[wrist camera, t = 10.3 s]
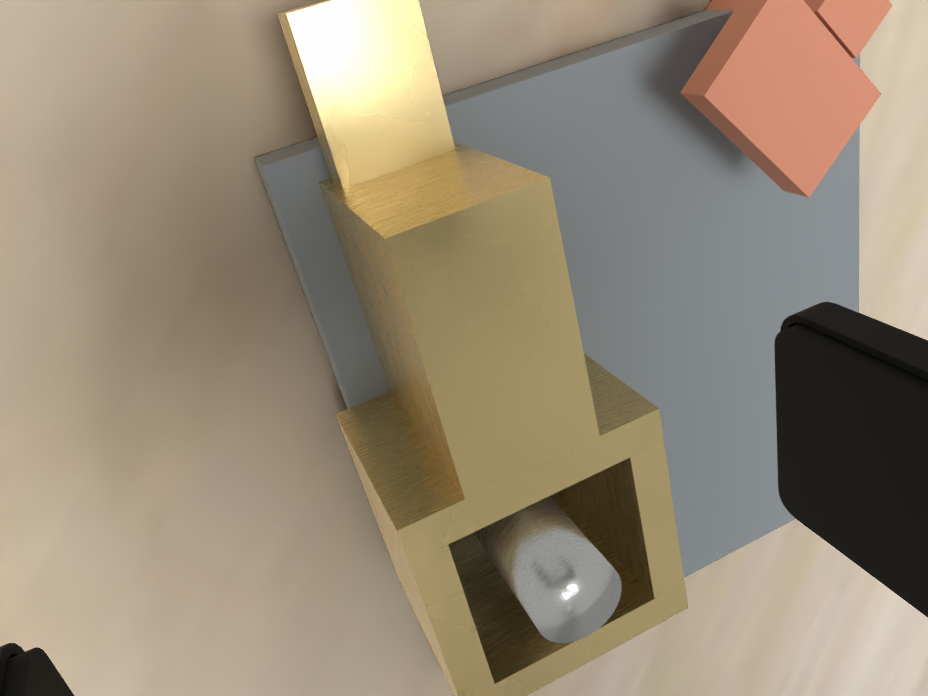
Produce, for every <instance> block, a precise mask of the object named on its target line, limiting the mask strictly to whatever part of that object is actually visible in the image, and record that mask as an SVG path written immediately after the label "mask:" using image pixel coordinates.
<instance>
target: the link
mask: <svg viewBox="0 0 928 696" xmlns="http://www.w3.org/2000/svg"><path fill="white" fill-rule="evenodd" d="M277 15H278V18H279V21H280V24H281V27H282V30H283V33H284V36H285V39H286V42H287V45H288V48H289V51H290V54H291V57H292V61H293V64H294V67H295V70H296V73H297V76H298V79H299V82H300V85H301V88H302V91H303V94H304V97H305V100H306V103H307V106H308V109H309V112H310V115H311V118H312V121H313V124H314V127H315V130H316V133H317V136H318V139H319V142H320V145H321V148H322V151H323V154H324V157H325V161H326V164H327V167H328V170H329V173H330V176H331V178H328V179H325V180H322V181H319V185H320V188H321V191H322V194H323V197H324V200H325V203H326V206H327V209H328V212H329V215H330V218H331V221H332V224H333V226H334V229H335V232H336V235H337V238H338V241H339V244H340V247H341V250H342V253H343V256H344V259H345V262H346V265H347V268H348V271H349V274H350V277H351V280H352V283H353V285H354V288H355V291H356V294H357V297H358V300H359V303H360V306H361V309H362V312H363V315H364V318H365V321H366V324H367V327H368V330H369V333H370V336H371V339H372V342H373V344H374V347H375V350H376V353H377V356H378V359H379V362H380V365H381V368H382V371H383V374H384V377H385V380H386V383H387V386H388V389H389V392H387V393H385V394H382V395H380V396H377V397H375V398H373V399H370V400H368V401H366V402H363V403H361V404H358V405H356V406H354V407H351V408H349V409H347V410H344V411H342V412H339V413H337V414H336V417H337V419H338V422H339V424H340V427H341V430H342V432H343V435H344V437H345V440H346V443H347V445H348V448H349V450H350V453H351V456H352V458H353V461H354V463H355V466H356V469H357V471H358V474H359V476H360V479H361V482H362V484H363V487H364V489H365V492H366V495H367V497H368V500H369V502H370V505H371V508H372V510H373V513H374V515H375V518H376V521H377V523H378V526H379V528H380V531H381V534H382V536H383V539H384V541H385V544H386V547H387V549H388V552H389V554H390V557H391V560H392V562H393V565H394V567H395V570H396V573H397V575H398V578H399V580H400V583H401V586H402V588H403V590H404V592H405V594H406V596H407V598H408V600H409V602H410V604H411V606H412V608H413V610H414V613H415V615H416V617H417V619H418V621H419V623H420V625H421V627H422V629H423V631H424V633H425V635H426V637H427V640H428V642H429V644H430V646H431V648H432V650H433V652H434V654H435V656H436V658H437V660H438V662H439V664H440V666H441V669H442V671H443V673H444V675H445V677H446V679H447V681H448V683H449V685H450V687H451V689H452V691H453V693H454V695H455V696H526V695H528V694H530V693H532V692H534V691H536V690H538V689H539V688H541V687H543V686H545V685H547V684H549V683H550V682H552V681H554V680H556V679H558V678H560V677H561V676H563V675H565V674H567V673H569V672H571V671H573V670H574V669H576V668H578V667H580V666H582V665H584V664H585V663H587V662H589V661H591V660H593V659H595V658H596V657H598V656H600V655H602V654H604V653H606V652H608V651H609V650H611V649H613V648H615V647H617V646H619V645H620V644H622V643H624V642H626V641H628V640H630V639H631V638H633V637H635V636H637V635H639V634H641V633H643V632H644V631H646V630H648V629H650V628H652V627H654V626H655V625H657V624H659V623H661V622H663V621H665V620H666V619H668V618H670V617H672V616H674V615H676V614H678V613H679V612H681V611H683V610H685V609H687V608H688V604H687V597H686V590H685V583H684V576H683V569H682V562H681V555H680V548H679V541H678V534H677V528H676V521H675V514H674V507H673V500H672V493H671V486H670V479H669V472H668V465H667V458H666V452H665V445H664V438H663V431H662V424H661V417H660V410H659V408H658V407H656V406H655V405H654V404H652V403H651V402H650V401H648V400H647V399H646V398H644V397H643V396H641V395H640V394H639V393H637V392H636V391H635V390H633V389H632V388H631V387H629V386H628V385H626V384H625V383H624V382H622V381H621V380H620V379H618V378H617V377H616V376H614V375H613V374H611V373H610V372H609V371H607V370H606V369H605V368H603V367H602V366H601V365H599V364H598V363H597V362H595V361H594V360H592V359H591V358H590V357H588V356H587V355H586V354H584V352H583V347H582V341H581V336H580V331H579V326H578V321H577V316H576V310H575V305H574V300H573V295H572V290H571V284H570V279H569V274H568V269H567V264H566V258H565V253H564V248H563V243H562V238H561V232H560V227H559V222H558V217H557V212H556V206H555V201H554V196H553V191H552V186H551V180H550V177H547V176H545V175H542V174H539V173H537V172H534V171H531V170H529V169H526V168H523V167H521V166H518V165H516V164H513V163H510V162H508V161H505V160H502V159H500V158H497V157H494V156H492V155H489V154H486V153H484V152H481V151H478V150H476V149H473V148H470V147H468V146H465V145H462V144H460V143H457V142H454V141H453V138H452V134H451V130H450V126H449V122H448V118H447V113H446V109H445V105H444V101H443V97H442V93H441V89H440V85H439V81H438V77H437V73H436V69H435V65H434V61H433V57H432V53H431V49H430V45H429V41H428V37H427V33H426V29H425V25H424V21H423V17H422V12H421V8H420V4H419V0H324V1H321V2H317V3H314V4H310V5H307V6H303V7H300V8H296V9H293V10H289V11H286V12H283V13H279V14H277ZM548 496H551V497H552V499H553V500H554V501H555V502H556V503H557V504H558V505H559V507H560V508H561V509H562V510H563V511H564V512H565V513H566V514H567V516H568V517H569V518H570V519H571V520H572V521H573V522H574V523H575V525H576V526H577V527H578V528H579V529H580V530H581V531H582V533H583V534H584V535H585V536H586V537H587V538H588V539H589V540H590V542H591V543H592V544H593V545H594V546H595V547H596V548H597V549H598V551H599V552H600V553H601V554H602V555H603V556H604V557H605V559H606V560H607V561H608V562H609V563H610V564H611V565H612V566H613V568H614V569H615V570H616V571H617V572H618V574H619V576H620V579H621V584H622V591H621V596H620V600H619V602H618V605H617V607H616V609H615V611H614V612H613V614H612V615H611V617H610V618H609V619H608V620H607V621H606V622H605V623H604V624H603V625H602V626H601V627H600V628H599V629H598V630H596V631H595V632H594V633H592V634H590V635H589V636H587V637H585V638H583V639H580V640H577V641H574V642H569V643H556V642H552V641H550V640H548V639H546V638H545V637H543V636H542V634H541V633H540V632H539V630H538V629H537V627H536V626H535V624H534V623H533V622H532V620H531V619H530V617H529V616H528V614H527V613H526V611H525V610H524V608H523V607H522V605H521V604H520V602H519V601H518V599H517V598H516V596H515V595H514V593H513V592H512V590H511V589H510V587H509V586H508V584H507V583H506V581H505V580H504V578H503V577H502V575H501V574H500V572H499V571H498V569H497V568H496V566H495V565H494V563H493V562H492V560H491V559H490V557H489V556H488V554H487V553H486V551H485V550H484V548H483V547H482V546H481V544H480V543H479V541H478V540H477V538H476V537H475V535H474V534H473V532H475V531H477V530H479V529H482V528H484V527H486V526H488V525H490V524H492V523H494V522H496V521H498V520H500V519H502V518H505V517H507V516H509V515H511V514H513V513H515V512H517V511H519V510H521V509H523V508H525V507H527V506H530V505H532V504H534V503H536V502H538V501H540V500H542V499H544V498H546V497H548Z"/></svg>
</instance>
